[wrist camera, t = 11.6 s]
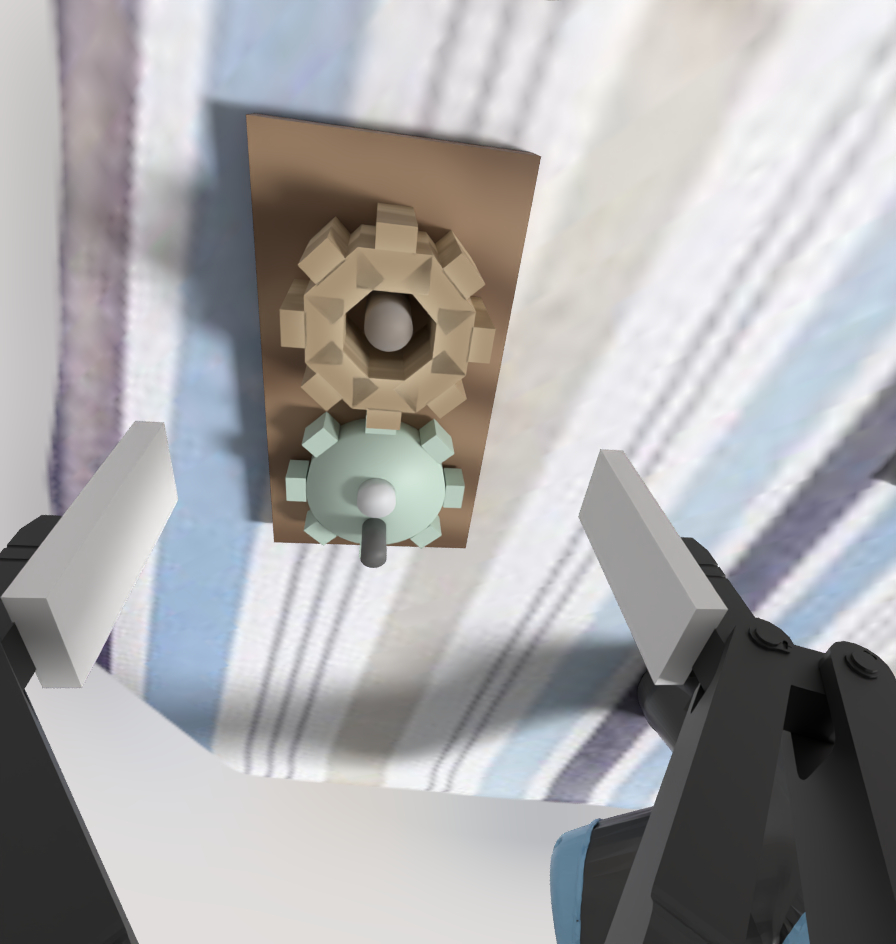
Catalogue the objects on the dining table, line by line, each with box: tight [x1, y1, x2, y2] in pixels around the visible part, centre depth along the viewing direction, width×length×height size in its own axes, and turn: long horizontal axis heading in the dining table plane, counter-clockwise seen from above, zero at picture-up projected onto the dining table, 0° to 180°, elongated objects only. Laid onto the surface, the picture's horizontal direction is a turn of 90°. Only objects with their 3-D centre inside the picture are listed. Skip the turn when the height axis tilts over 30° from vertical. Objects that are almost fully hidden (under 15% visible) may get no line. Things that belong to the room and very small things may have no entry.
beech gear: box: [280, 203, 496, 430], centre depth 29 cm, size 10×10×5 cm
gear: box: [286, 410, 465, 568], centre depth 35 cm, size 11×11×5 cm
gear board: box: [246, 113, 541, 548], centre depth 33 cm, size 26×14×6 cm, turn 173°
